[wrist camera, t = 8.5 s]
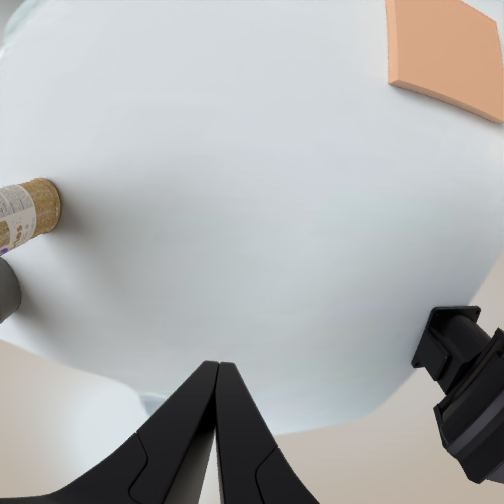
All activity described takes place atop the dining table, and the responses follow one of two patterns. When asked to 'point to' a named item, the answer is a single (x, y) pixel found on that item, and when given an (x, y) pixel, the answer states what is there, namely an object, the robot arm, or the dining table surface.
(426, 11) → the tile
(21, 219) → the sprinkles bottle
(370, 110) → the dining table surface
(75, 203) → the dining table surface
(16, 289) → the candle holder
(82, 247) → the dining table surface
